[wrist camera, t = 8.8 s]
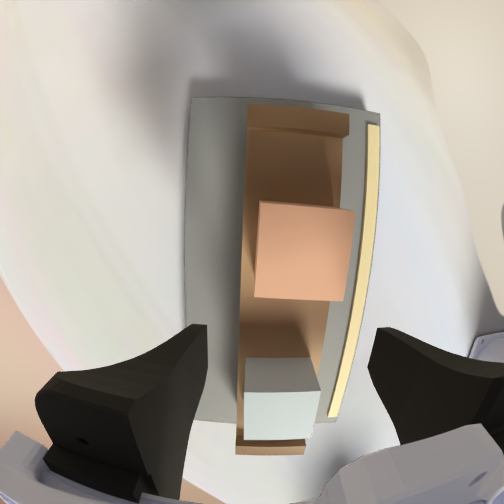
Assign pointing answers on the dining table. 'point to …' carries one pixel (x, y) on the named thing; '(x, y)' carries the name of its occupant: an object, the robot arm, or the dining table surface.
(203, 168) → the plate
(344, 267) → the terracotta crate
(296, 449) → the brown block carrier
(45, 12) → the dining table surface
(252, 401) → the block
